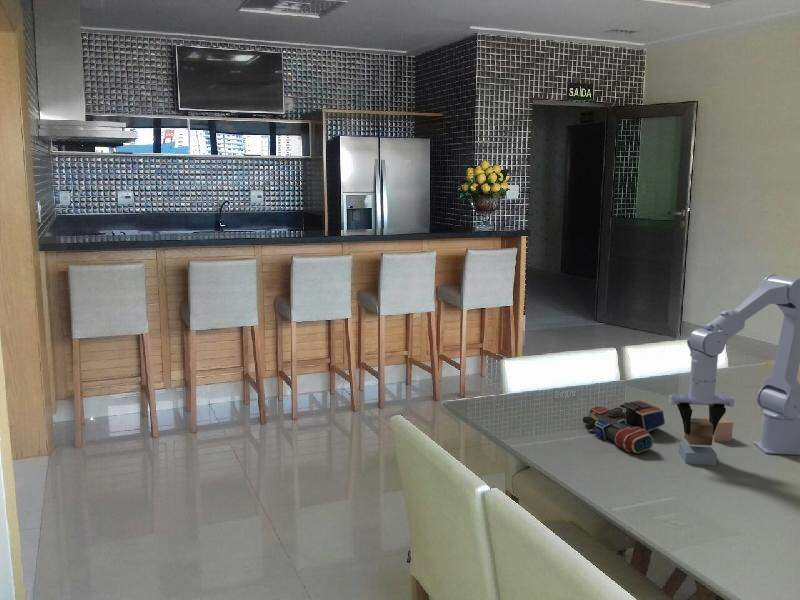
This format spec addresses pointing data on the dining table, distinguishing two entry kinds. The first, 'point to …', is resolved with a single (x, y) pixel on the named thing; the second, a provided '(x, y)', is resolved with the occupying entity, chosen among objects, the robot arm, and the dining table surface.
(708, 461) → the blue slab
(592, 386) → the dining table surface
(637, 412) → the red blue plastic piece
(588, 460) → the dining table surface
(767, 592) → the dining table surface
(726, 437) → the terracotta block
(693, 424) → the walnut block
